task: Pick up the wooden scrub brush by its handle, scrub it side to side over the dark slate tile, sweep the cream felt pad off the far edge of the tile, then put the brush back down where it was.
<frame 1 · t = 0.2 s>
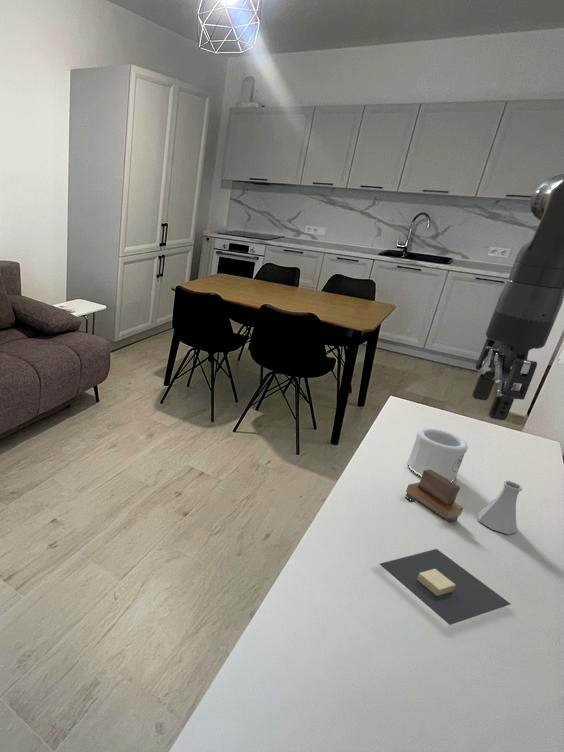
hand: (487, 408, 82), 33 cm above the counter, tool pointing down, fingers open, 8 cm apart
mug: (432, 471, 127), on the counter
slate tile: (440, 587, 88), on the counter
flask: (495, 524, 107), on the counter
brush: (430, 508, 111), on the counter
felt pad: (434, 585, 87), point 1 cm above the counter, touching slate tile
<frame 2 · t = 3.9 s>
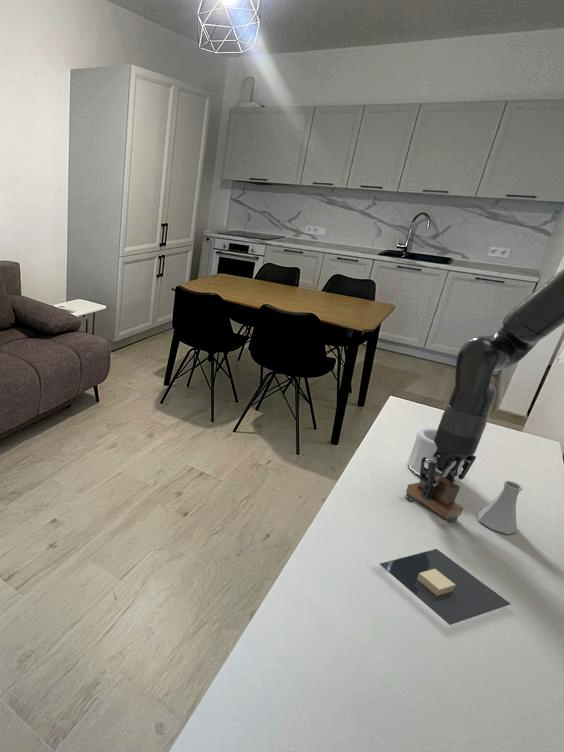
hand: (434, 496, 109), 3 cm above the counter, tool pointing down, fingers closed on brush, 4 cm apart
brush: (430, 508, 111), on the counter, touching gripper
everything else where it was.
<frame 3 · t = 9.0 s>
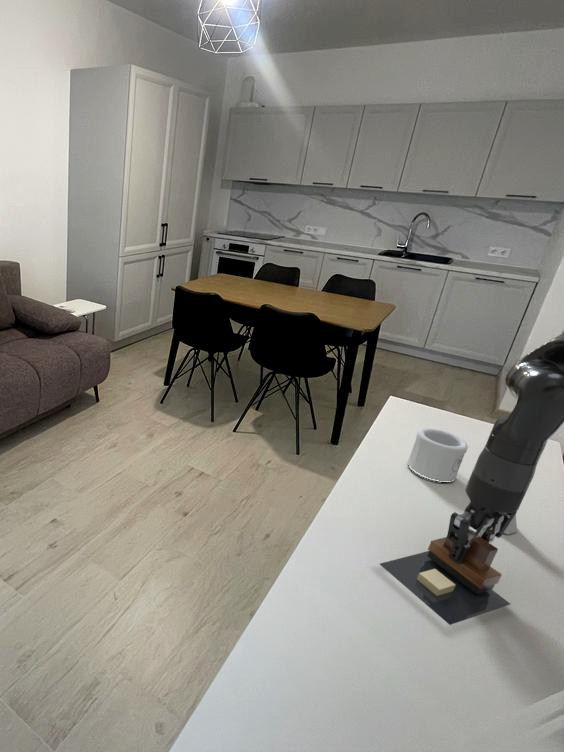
hand: (465, 557, 89), 5 cm above the counter, tool pointing down, fingers closed on brush, 4 cm apart
brush: (458, 572, 90), point 2 cm above the counter, touching gripper
everything else where it was.
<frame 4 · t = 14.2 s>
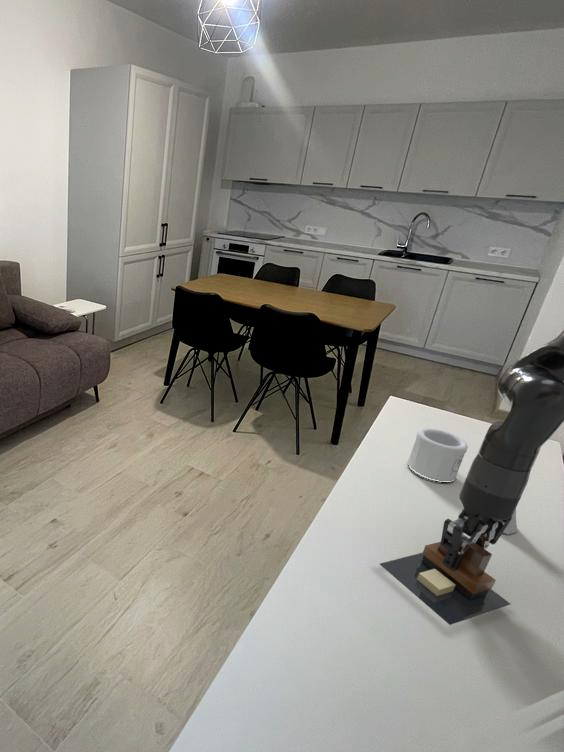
hand: (459, 564, 88), 4 cm above the counter, tool pointing down, fingers closed on brush, 4 cm apart
brush: (452, 577, 89), point 1 cm above the counter, touching gripper
everything else where it was.
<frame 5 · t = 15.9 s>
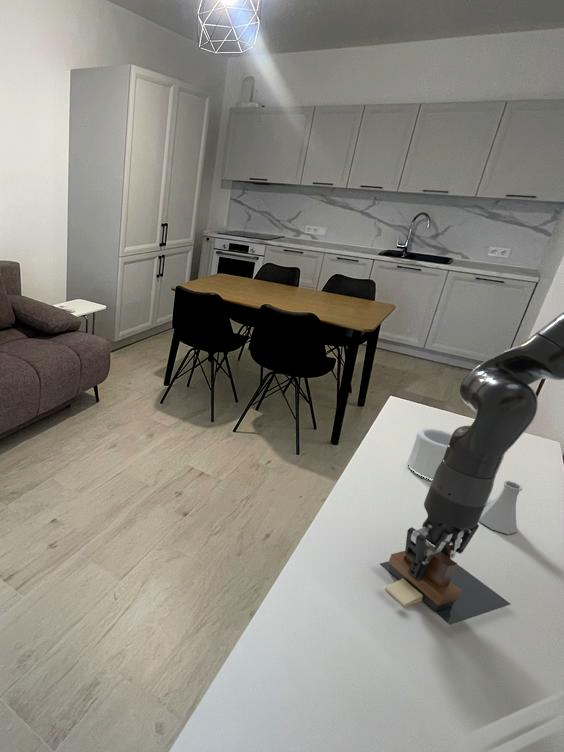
hand: (425, 574, 85), 4 cm above the counter, tool pointing down, fingers closed on brush, 4 cm apart
brush: (418, 587, 86), point 1 cm above the counter, touching gripper
felt pad: (402, 597, 85), on the counter, tilted 13°
everything else where it was.
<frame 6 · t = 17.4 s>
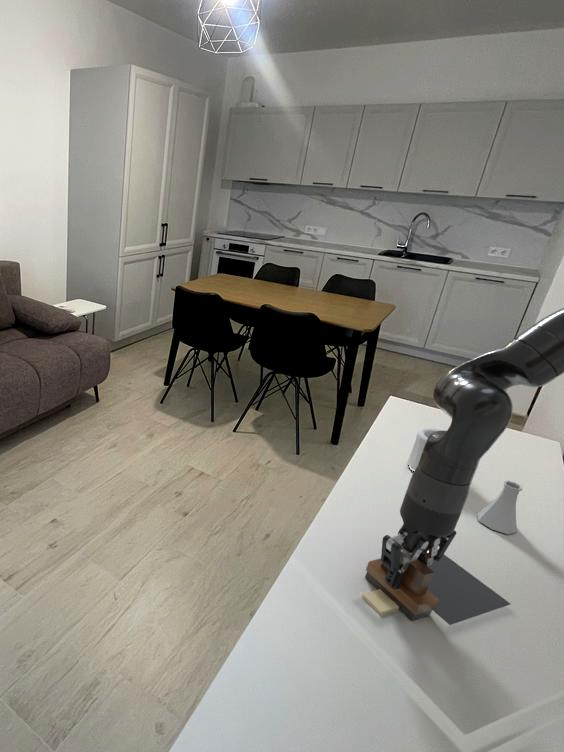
hand: (402, 582, 83), 4 cm above the counter, tool pointing down, fingers closed on brush, 4 cm apart
brush: (396, 595, 84), point 1 cm above the counter, touching felt pad, gripper
felt pad: (378, 606, 83), on the counter, touching brush
everything else where it was.
when the fingers open (3 cm above the counter, at t = 24.6 s): brush stays where it is, on the counter.
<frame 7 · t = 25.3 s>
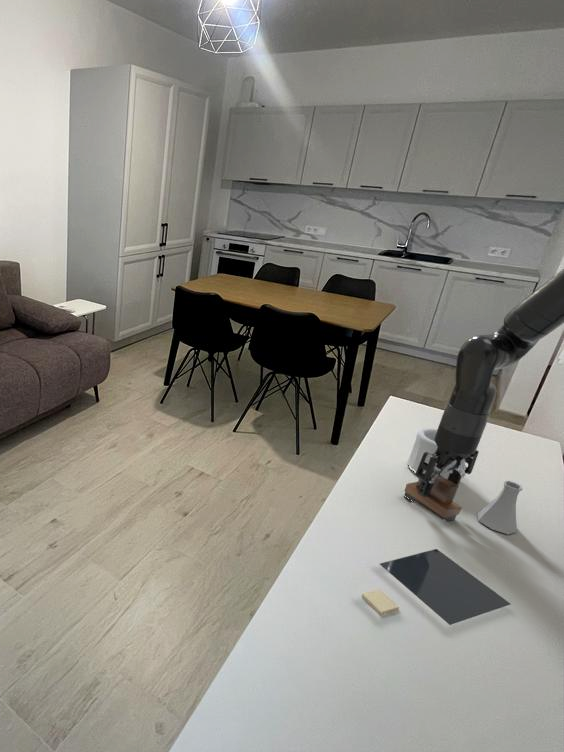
hand: (436, 492, 109), 4 cm above the counter, tool pointing down, fingers open, 8 cm apart
brush: (428, 508, 111), on the counter
felt pad: (378, 606, 83), on the counter
everything else where it was.
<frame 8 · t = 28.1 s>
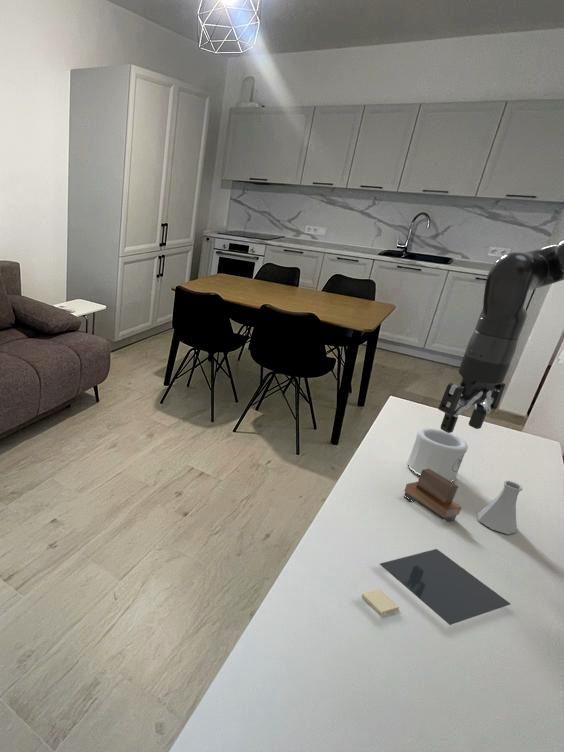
hand: (460, 429, 103), 20 cm above the counter, tool pointing down, fingers open, 8 cm apart
nothing on the counter moved.
at the end: felt pad inside the target area on the counter beside the slate tile (0.2 cm from its centre), on the counter; brush inside the target area (0.3 cm from its centre), on the counter; the gripper is holding nothing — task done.
